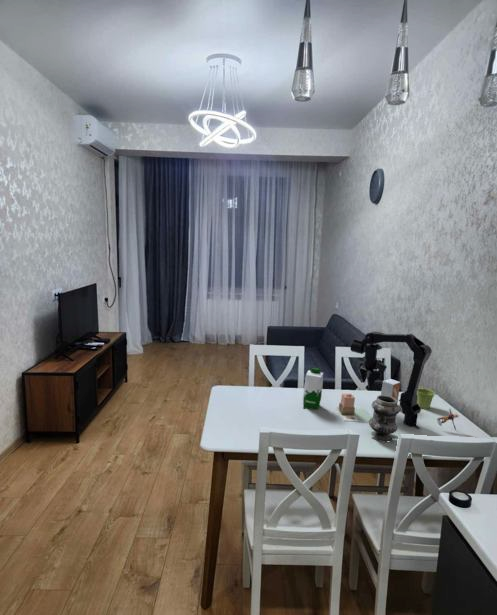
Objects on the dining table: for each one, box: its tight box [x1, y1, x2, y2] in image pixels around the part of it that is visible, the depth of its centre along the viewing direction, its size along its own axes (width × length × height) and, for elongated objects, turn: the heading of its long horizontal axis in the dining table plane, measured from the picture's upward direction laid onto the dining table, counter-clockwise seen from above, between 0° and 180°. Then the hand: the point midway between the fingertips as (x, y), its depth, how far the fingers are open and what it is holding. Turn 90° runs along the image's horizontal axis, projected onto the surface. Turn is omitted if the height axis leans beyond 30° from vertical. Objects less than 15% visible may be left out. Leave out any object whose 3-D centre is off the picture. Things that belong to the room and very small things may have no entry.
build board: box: [334, 407, 373, 423], centre depth 206 cm, size 16×16×1 cm
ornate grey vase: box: [368, 394, 401, 443], centre depth 184 cm, size 12×12×18 cm
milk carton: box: [302, 367, 324, 410], centre depth 211 cm, size 9×9×20 cm
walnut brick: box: [338, 402, 356, 416], centre depth 207 cm, size 6×6×4 cm
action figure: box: [436, 408, 459, 431], centre depth 198 cm, size 12×3×9 cm
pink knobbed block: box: [340, 393, 356, 408], centre depth 206 cm, size 5×5×6 cm
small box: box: [380, 378, 401, 404], centre depth 223 cm, size 8×6×13 cm
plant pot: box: [417, 387, 436, 410], centre depth 224 cm, size 9×9×9 cm
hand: (366, 385), depth 214 cm, fingers open, 9 cm apart
